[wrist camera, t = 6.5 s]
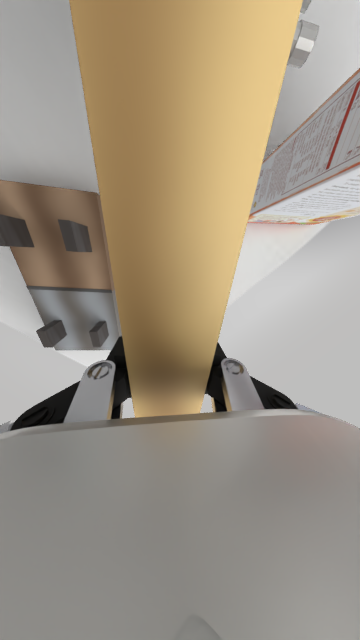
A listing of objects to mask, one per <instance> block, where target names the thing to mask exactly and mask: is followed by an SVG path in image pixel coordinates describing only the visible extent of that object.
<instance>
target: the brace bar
mask: <svg viewBox="0 0 360 640" xmlns="http://www.w3.org/2000/svg"><path fill="white" fill-rule="evenodd" d="M69 2H70V8H71V15H72V21H73V27H74V34H75V40H76V47H77V53H78V59H79V66H80V72H81V78H82V85H83V91H84V97H85V104H86V110H87V116H88V123H89V129H90V135H91V142H92V148H93V154H94V161H95V167H96V173H97V180H98V186H99V192H100V199H101V205H102V211H103V218H104V224H105V230H106V237H107V243H108V250H109V256H110V262H111V269H112V275H113V281H114V288H115V294H116V300H117V307H118V313H119V319H120V326H121V332H122V338H123V345H124V351H125V357H126V364H127V370H128V376H129V383H130V389H131V395H132V402H133V408H134V413H135V418H137V417H152V416H166V415H181V414H196V413H200V410H201V406H202V402H203V398H204V394H205V390H206V386H207V382H208V378H209V374H210V370H211V366H212V362H213V358H214V354H215V350H216V346H217V342H218V338H219V334H220V330H221V326H222V322H223V318H224V313H225V310H226V306H227V302H228V298H229V294H230V290H231V286H232V282H233V278H234V274H235V270H236V266H237V262H238V258H239V254H240V250H241V246H242V242H243V238H244V234H245V230H246V226H247V222H248V218H249V214H250V210H251V206H252V202H253V198H254V194H255V190H256V186H257V182H258V178H259V174H260V170H261V166H262V162H263V158H264V154H265V150H266V146H267V142H268V138H269V134H270V130H271V126H272V122H273V118H274V114H275V110H276V106H277V102H278V98H279V94H280V90H281V86H282V82H283V78H284V74H285V70H286V66H287V62H288V58H289V54H290V50H291V46H292V42H293V38H294V34H295V30H296V26H297V22H298V18H299V14H300V10H301V6H302V2H303V0H69Z"/></svg>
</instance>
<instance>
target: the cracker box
mask: <svg viewBox="0 0 360 640" xmlns="http://www.w3.org/2000/svg"><path fill="white" fill-rule="evenodd" d="M357 215H360V68H359V69H358V70H357V71H356V72H355V73H354V74H353V75H352V76H351V77H350V78H349V79H348V80H347V81H346V82H345V83H344V84H343V85H342V86H341V87H340V88H339V89H338V90H336V91H335V92H334V93H333V94H332V95H331V96H330V97H329V98H328V99H327V100H326V101H325V102H324V103H323V104H322V105H321V106H320V107H319V108H318V109H317V110H316V111H315V112H314V113H313V114H312V115H311V116H310V117H309V118H308V119H307V120H306V121H305V122H304V123H302V124H301V125H300V126H299V127H298V128H297V129H296V130H295V131H294V132H293V133H292V134H291V135H290V136H289V137H288V138H287V139H286V140H285V141H284V142H283V143H282V144H281V145H280V146H279V147H278V148H277V149H276V150H275V151H274V152H273V153H272V154H271V155H269V156H268V157H267V158H266V159H265V160H264V161H263V162H262V166H261V170H260V174H259V178H258V182H257V186H256V190H255V194H254V198H253V202H252V206H251V210H250V214H249V218H248V222H247V223H280V224H318V223H324V222H328V221H333V220H338V219H343V218H348V217H353V216H357Z"/></svg>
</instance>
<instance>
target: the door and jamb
mask: <svg viewBox="0 0 360 640" xmlns="http://www.w3.org/2000/svg"><path fill="white" fill-rule="evenodd" d="M0 246H10V249H11V251H12V253H13V255H14V258H15V260H16V262H17V264H18V267H19V269H20V271H21V273H22V276H23V278H24V280H25V282H26V285H27V288H28V289H29V291H30V294H31V296H32V298H33V300H34V303H35V305H36V307H37V309H38V312H39V314H40V316H41V318H42V321H43V323H44V325H45V326H44V327H42V328H40V329H39V330H37V331H36V332H37V334H38V336H39V338H40V340H41V342H42V344H43V346H44V347H54V348H55V350H112V348H113V347H114V345H115V343H116V341H117V339H118V338H119V337H120V336H122V332H121V326H120V319H119V313H118V307H117V300H116V294H115V288H114V281H113V275H112V269H111V262H110V256H109V250H108V243H107V237H106V230H105V224H104V218H103V211H102V205H101V199H100V195H98V194H97V193H95V192H87V191H80V190H72V189H65V188H57V187H49V186H42V185H34V184H27V183H19V182H12V181H4V180H0Z"/></svg>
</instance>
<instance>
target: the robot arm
mask: <svg viewBox="0 0 360 640" xmlns="http://www.w3.org/2000/svg"><path fill="white" fill-rule="evenodd" d="M310 2H311V0H303V2H302V6H301V10H300V12H301V13H305V11H306V10H307V8H308V6H309V4H310ZM318 30H319V26H318V25H315V24H312V23H309V22H306V21H304V20H301V21H300V22H299V21H298V22H297V26H296V30H295V34H294V38H293V42H292V46H291V50H290V54H289V58H288V62H287V65H289V66H293V67H296V68H301V67H302V66H303V64H304V63H305V61H306V60H307V58H308V56H309V54H310V52H311V50H312V48H313V45H314V43H315V40H316V37H317V34H318ZM205 394H208V395H210V396H211V397H212V398H211V400H212V408H213V412H212V413H196V414H181V415H166V416H152V417H137V418H124V419H122V410H123V402H124V401H125V400H126V399H127V398H132V395H131V389H130V383H129V376H128V370H127V364H126V357H125V351H124V345H123V338H122V336H120V337H119V338H118V339H117V341H116V343H115V345H114V347H113V348H112V350H111V352H110V354H109V356H108V357H107V359H106V360H102V361H98V362H96V363H94V364H92V365H90V366H89V367H88V368H87V369H86V370H85V372H84V374H83V377H82V379H81V381H79V382H77V383H75V384H73V385H72V386H70V387H68V388H66V389H65V390H62V391H60V392H59V393H57V394H55V395H53V396H51V397H50V398H48V399H46V400H44V401H42V402H40V403H38V404H37V405H35V406H33V407H32V408H30V409H29V410H27V411H26V412H24V413H23V414H22V415H21V416H20V417H19V418H18V419H17V420H16V421H15V422H14V423H12V422H11V421H9V422H7V423H4V424H2V425H0V640H360V428H358V427H356V426H354V425H352V424H350V423H348V422H345V421H343V420H340V419H337V418H334V417H331V416H328V415H325V414H322V413H319V412H317V411H315V410H312V409H310V408H307V407H305V406H303V405H300V404H298V403H296V404H294V403H293V402H292V401H291V400H290V399H289V398H288V397H287V396H285V395H284V394H282V393H281V392H279V391H277V390H275V389H273V388H271V387H269V386H267V385H266V384H264V383H262V382H260V381H258V380H256V379H255V378H253V377H251V376H249V374H248V372H247V369H246V367H245V366H244V365H243V364H242V363H241V362H239V361H238V360H236V359H232V358H227V357H226V356H225V354H224V352H223V350H222V349H221V347H220V345H219V343H218V342H217V346H216V350H215V354H214V358H213V362H212V366H211V370H210V374H209V378H208V382H207V386H206V390H205Z"/></svg>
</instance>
